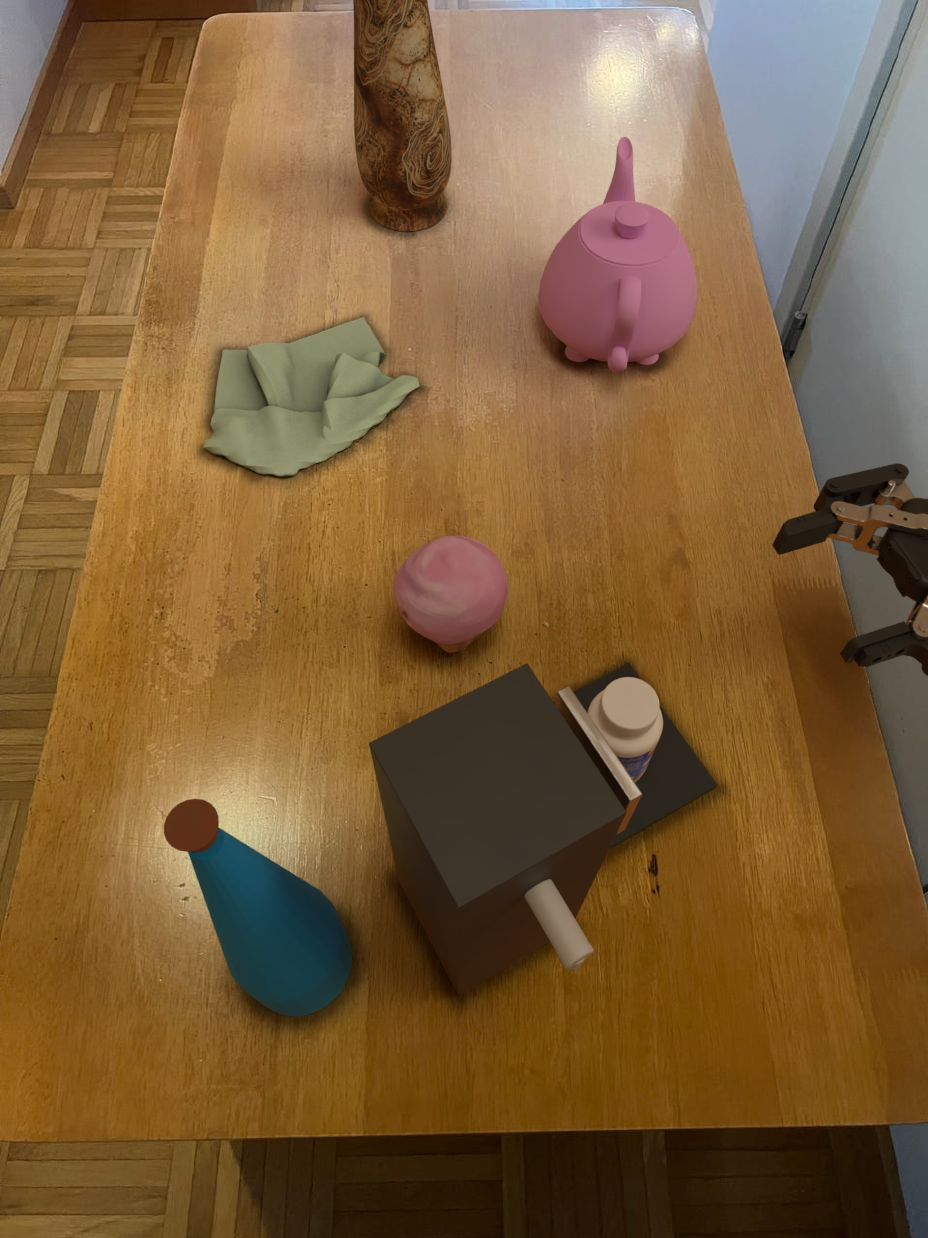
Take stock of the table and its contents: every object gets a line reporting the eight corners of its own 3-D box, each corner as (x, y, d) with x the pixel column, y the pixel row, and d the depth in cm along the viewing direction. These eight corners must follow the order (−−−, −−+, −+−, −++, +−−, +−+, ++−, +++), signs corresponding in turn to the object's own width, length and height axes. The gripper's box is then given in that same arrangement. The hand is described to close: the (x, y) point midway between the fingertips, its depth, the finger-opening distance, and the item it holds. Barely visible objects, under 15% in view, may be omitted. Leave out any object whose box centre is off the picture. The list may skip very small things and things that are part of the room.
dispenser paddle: (624, 830, 52) (643, 794, 47) (613, 837, 52) (630, 801, 47) (558, 729, 55) (568, 684, 50) (547, 735, 55) (556, 691, 50)
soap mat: (716, 787, 71) (718, 785, 71) (584, 863, 68) (585, 861, 68) (627, 665, 76) (629, 662, 76) (501, 731, 73) (502, 728, 73)
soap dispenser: (601, 984, 64) (679, 890, 42) (488, 1054, 62) (505, 995, 39) (505, 822, 70) (527, 662, 47) (398, 881, 67) (368, 742, 45)
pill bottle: (650, 790, 70) (676, 740, 62) (579, 790, 70) (595, 740, 62) (643, 724, 73) (667, 667, 65) (574, 724, 73) (589, 667, 65)
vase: (451, 236, 103) (448, -73, 77) (355, 236, 103) (320, -73, 77) (452, 178, 108) (449, -131, 82) (361, 177, 108) (329, -131, 82)
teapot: (537, 249, 102) (547, 130, 90) (679, 255, 102) (708, 135, 90) (533, 398, 91) (545, 284, 79) (693, 405, 91) (728, 292, 79)
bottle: (328, 888, 67) (238, 716, 41) (370, 983, 64) (301, 863, 38) (232, 936, 66) (73, 790, 39) (270, 1037, 62) (124, 951, 36)
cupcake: (456, 567, 81) (456, 497, 72) (526, 631, 78) (534, 566, 69) (378, 627, 78) (367, 561, 69) (447, 696, 75) (445, 636, 66)
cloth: (183, 470, 86) (176, 453, 84) (238, 307, 97) (233, 288, 95) (400, 490, 85) (398, 473, 83) (431, 323, 96) (430, 305, 94)
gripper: (992, 410, 61) (773, 472, 58) (1138, 583, 54) (898, 663, 51) (940, 483, 67) (741, 542, 65) (1066, 645, 61) (849, 719, 58)
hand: (811, 595), depth 58 cm, fingers open, 8 cm apart
